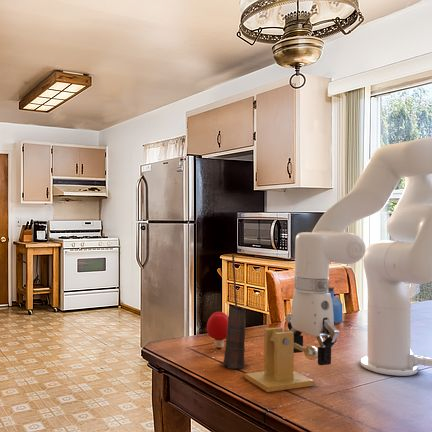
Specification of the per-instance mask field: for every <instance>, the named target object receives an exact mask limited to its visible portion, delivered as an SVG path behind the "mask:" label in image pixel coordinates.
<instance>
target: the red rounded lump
mask: <svg viewBox="0 0 432 432" xmlns="http://www.w3.org/2000/svg"><path fill="white" fill-rule="evenodd" d="M227 327H228V315H227V314H226V313H225V312H223V311H214V312H213V313H212V314H211V315H210V316H209V318H208V320H207V322H206V332H207V334H208V336H209V337H210V338H212V339H213V346H214V347H215V348H216V349H218V350H220V349H222V348H223V347H225V343H224V342H225V340H226V336H227Z"/></svg>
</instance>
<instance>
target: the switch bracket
mask: <svg viewBox="0 0 432 432" xmlns="http://www.w3.org/2000/svg"><path fill="white" fill-rule="evenodd" d="M263 330H264V331H263V332H264V334H263V337H264V342H263V347H264V349H263V350H264V351H263V355H264V356H263V360H264V361H263V365H264V366H263V370H262V371H255V372H247V373H244V376H245V377H244V379H245V380H247V381H248V382H250V383H251V384H253V385H255V386H257V387H258V388H259V389H262V390H263V391H264V392H266V393H272V392H279V391H285V390H286V391H287V390H293V389H299V388H300V389H301V388H307V387H313V386H314V380H313V379H311V378H309V377H307V376H305V375H303V374H301V373H300V372H297V371H295V370H294V367H295V366H294V362H295V361H294V354H295V353H294V332H291V331H290V330H288V331H284V329H283V327H278V326H277V327H269V328H264V329H263ZM273 330H274V331H277V332H279V333H275V342H273V341H271V340H270V337H271V335H272V332H273Z"/></svg>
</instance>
